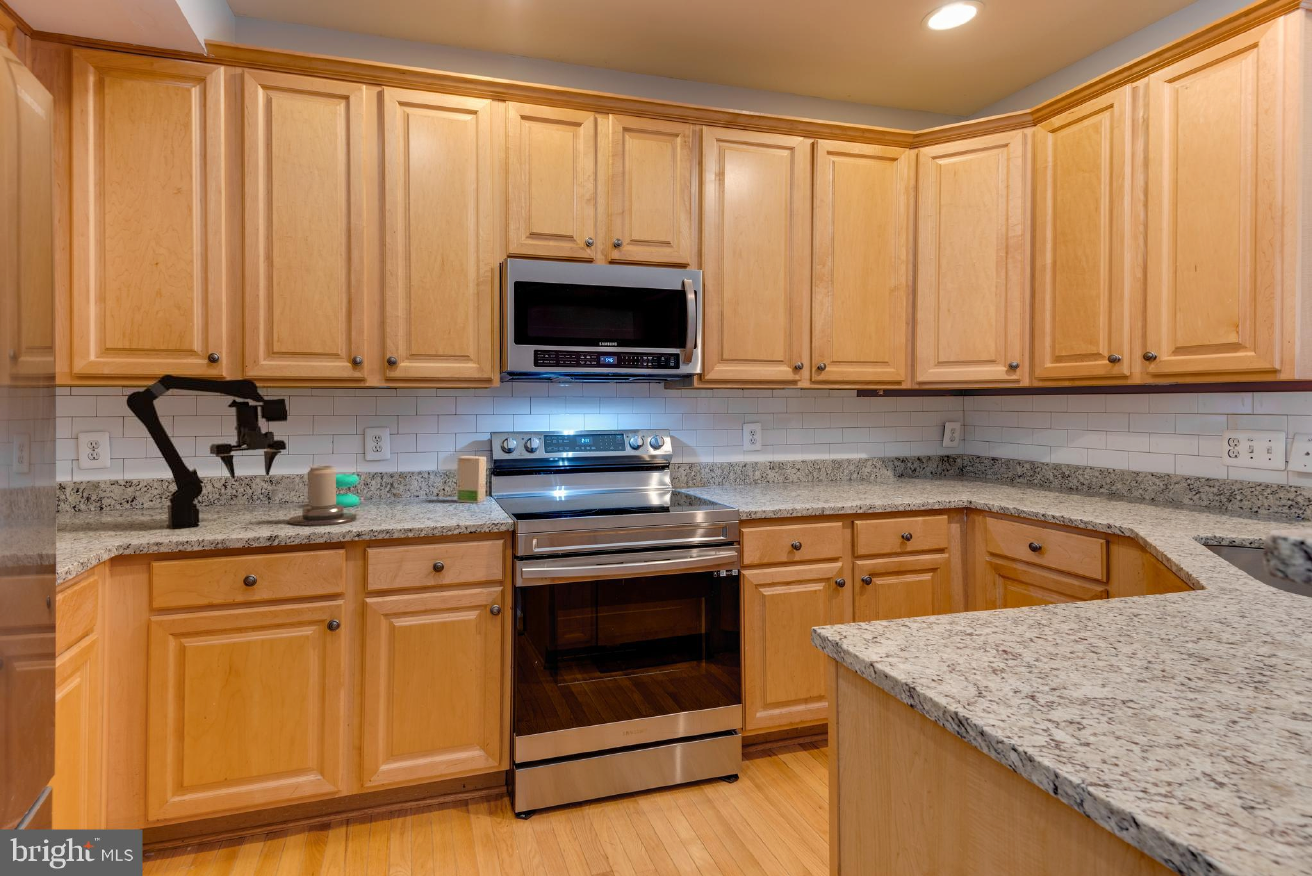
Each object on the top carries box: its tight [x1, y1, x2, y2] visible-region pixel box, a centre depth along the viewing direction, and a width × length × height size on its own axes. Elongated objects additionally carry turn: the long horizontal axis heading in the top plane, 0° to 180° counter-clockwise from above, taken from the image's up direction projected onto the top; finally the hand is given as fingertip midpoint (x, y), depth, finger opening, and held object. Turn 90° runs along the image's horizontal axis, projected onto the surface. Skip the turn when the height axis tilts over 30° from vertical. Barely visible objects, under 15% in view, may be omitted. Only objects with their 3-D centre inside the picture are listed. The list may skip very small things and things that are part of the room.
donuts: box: [336, 473, 360, 508], centre depth 246 cm, size 10×10×10 cm
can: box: [307, 465, 337, 509], centre depth 217 cm, size 8×8×12 cm
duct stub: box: [288, 504, 357, 527], centre depth 218 cm, size 18×18×4 cm
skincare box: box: [456, 455, 487, 504], centre depth 257 cm, size 8×7×16 cm
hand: (250, 476), depth 215 cm, fingers open, 9 cm apart
